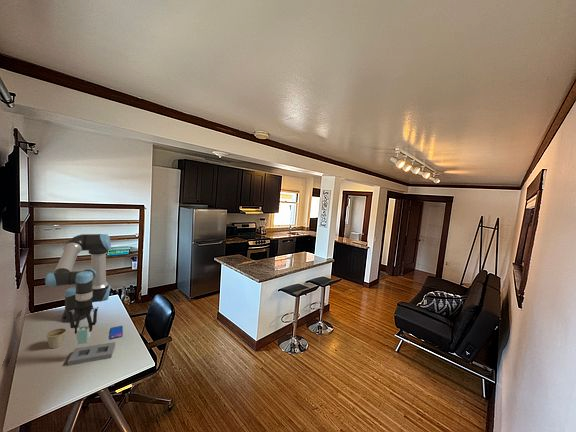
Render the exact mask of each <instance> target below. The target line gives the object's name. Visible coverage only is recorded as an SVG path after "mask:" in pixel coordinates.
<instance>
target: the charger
mask: <svg viewBox="0 0 576 432" xmlns="http://www.w3.org/2000/svg"><path fill="white" fill-rule="evenodd" d="M87 327H88V325H87V326H85V325H83V326H82V327H81V326H80V329H79V330H78V340H77V345H82V344H87V343H88V341H89V339H90V337H89V338H87Z"/></svg>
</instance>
